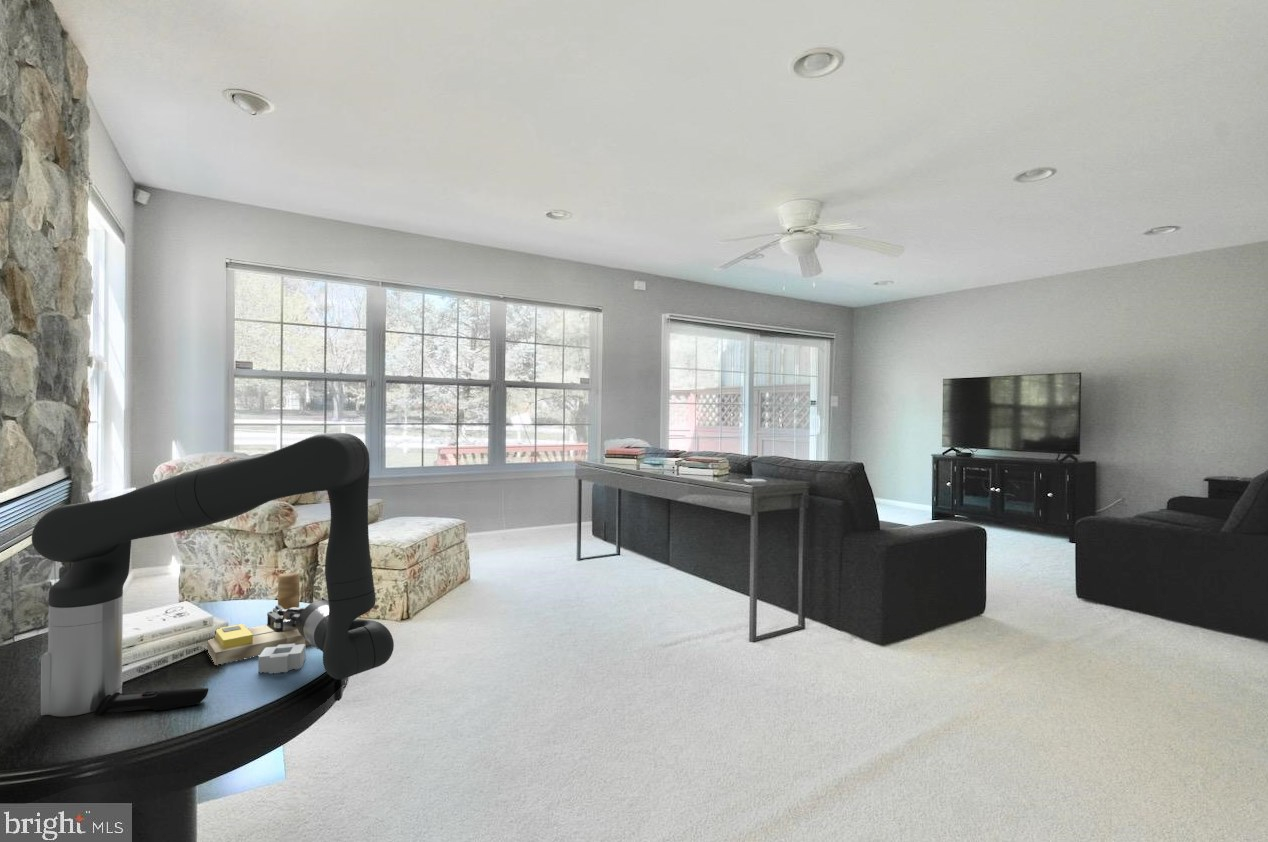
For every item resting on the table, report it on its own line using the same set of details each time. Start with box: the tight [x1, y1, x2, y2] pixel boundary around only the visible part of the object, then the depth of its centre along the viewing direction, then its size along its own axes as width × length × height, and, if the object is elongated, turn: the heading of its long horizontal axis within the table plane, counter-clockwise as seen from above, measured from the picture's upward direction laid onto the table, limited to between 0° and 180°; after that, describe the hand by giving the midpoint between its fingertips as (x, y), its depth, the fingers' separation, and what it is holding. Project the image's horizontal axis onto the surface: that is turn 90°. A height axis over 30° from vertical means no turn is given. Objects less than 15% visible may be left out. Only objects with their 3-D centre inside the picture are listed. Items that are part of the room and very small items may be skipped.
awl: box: [277, 572, 301, 632], centre depth 134 cm, size 4×4×14 cm
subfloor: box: [207, 624, 313, 666], centre depth 131 cm, size 20×12×3 cm, turn 133°
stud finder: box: [215, 623, 253, 649], centre depth 127 cm, size 5×9×2 cm, turn 43°
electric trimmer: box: [93, 687, 209, 717], centre depth 102 cm, size 4×16×3 cm, turn 102°
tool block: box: [257, 643, 307, 675], centre depth 120 cm, size 7×7×3 cm
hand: (300, 606), depth 127 cm, fingers open, 8 cm apart
